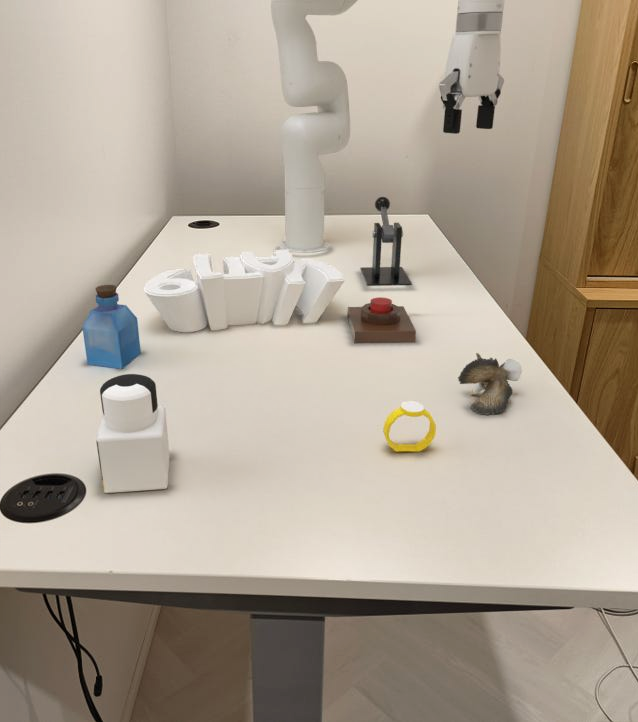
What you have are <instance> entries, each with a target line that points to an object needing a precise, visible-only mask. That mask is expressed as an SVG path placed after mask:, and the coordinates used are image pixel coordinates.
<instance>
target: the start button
mask: <svg viewBox="0 0 638 722" xmlns="http://www.w3.org/2000/svg"><path fill="white" fill-rule="evenodd" d="M369 303H370V311H373V312H377V313H387V312H391V309H392V304H393V300H392V299H390V298H389V297H383V296H381V297H380V296H379V297H373V298H371V299H370V302H369Z"/></svg>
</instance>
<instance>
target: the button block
mask: <svg viewBox="0 0 638 722" xmlns="http://www.w3.org/2000/svg"><path fill="white" fill-rule="evenodd" d="M347 321H348V326H349V329H350V333H351V335H352V340H353V343H354V344H413V343H414V344H415V343H416V335H417V330H416V328H415V327H414V326H415V325H414V324H413V322H412V321H411V318H410V316H409V315H408V312H407V311H406V309H405V306H403V305H396V304H394V303H392V309H391V312H387V313H377V312H373V311H370V302H368V303H365V304H364V305H362V306H348V307H347Z"/></svg>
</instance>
